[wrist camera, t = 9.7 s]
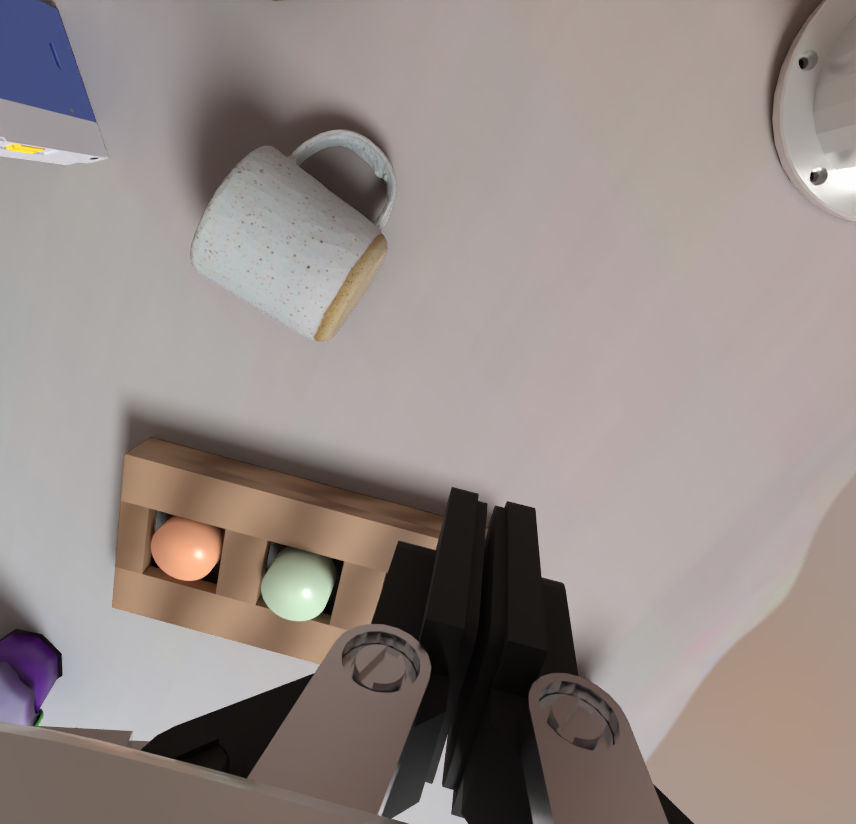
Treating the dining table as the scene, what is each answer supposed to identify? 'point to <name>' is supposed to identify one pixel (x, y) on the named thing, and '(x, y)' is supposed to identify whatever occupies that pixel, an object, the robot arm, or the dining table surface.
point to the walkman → (42, 90)
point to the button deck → (254, 545)
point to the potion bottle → (26, 676)
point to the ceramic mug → (293, 237)
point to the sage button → (298, 584)
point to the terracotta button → (187, 548)
